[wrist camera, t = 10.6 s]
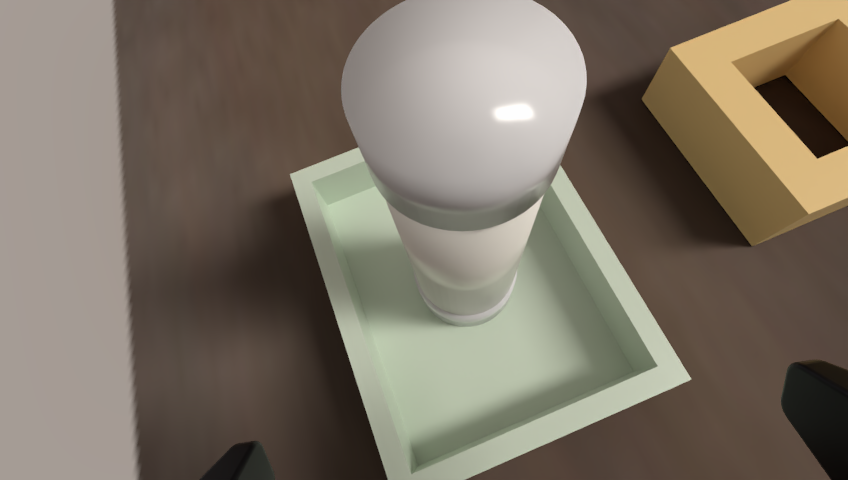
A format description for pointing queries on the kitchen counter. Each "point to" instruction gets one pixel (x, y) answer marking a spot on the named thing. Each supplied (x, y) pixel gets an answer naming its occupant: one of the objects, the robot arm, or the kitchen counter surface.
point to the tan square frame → (760, 113)
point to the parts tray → (481, 333)
